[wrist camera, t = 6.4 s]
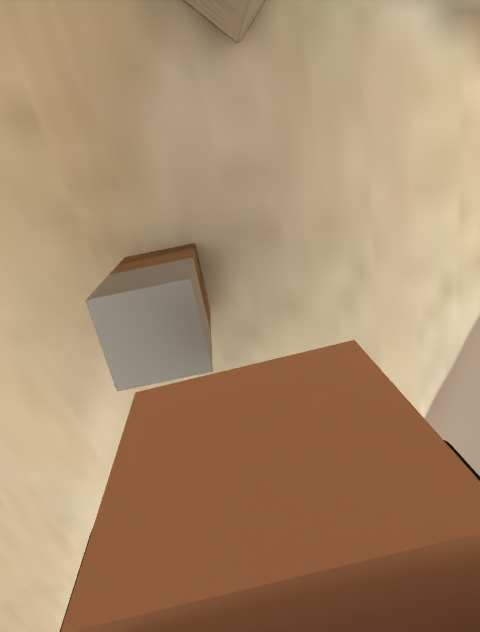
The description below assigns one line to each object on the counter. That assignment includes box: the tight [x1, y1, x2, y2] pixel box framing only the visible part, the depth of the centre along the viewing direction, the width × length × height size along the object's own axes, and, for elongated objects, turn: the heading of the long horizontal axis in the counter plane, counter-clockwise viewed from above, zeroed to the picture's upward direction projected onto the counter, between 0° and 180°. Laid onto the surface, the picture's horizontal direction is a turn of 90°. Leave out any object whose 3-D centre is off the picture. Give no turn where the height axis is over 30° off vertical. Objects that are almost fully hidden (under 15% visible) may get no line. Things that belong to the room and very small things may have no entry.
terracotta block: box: [61, 340, 480, 632], centre depth 9 cm, size 6×6×6 cm
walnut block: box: [109, 243, 211, 332], centre depth 32 cm, size 6×6×6 cm
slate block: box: [86, 258, 213, 391], centre depth 27 cm, size 6×6×6 cm
